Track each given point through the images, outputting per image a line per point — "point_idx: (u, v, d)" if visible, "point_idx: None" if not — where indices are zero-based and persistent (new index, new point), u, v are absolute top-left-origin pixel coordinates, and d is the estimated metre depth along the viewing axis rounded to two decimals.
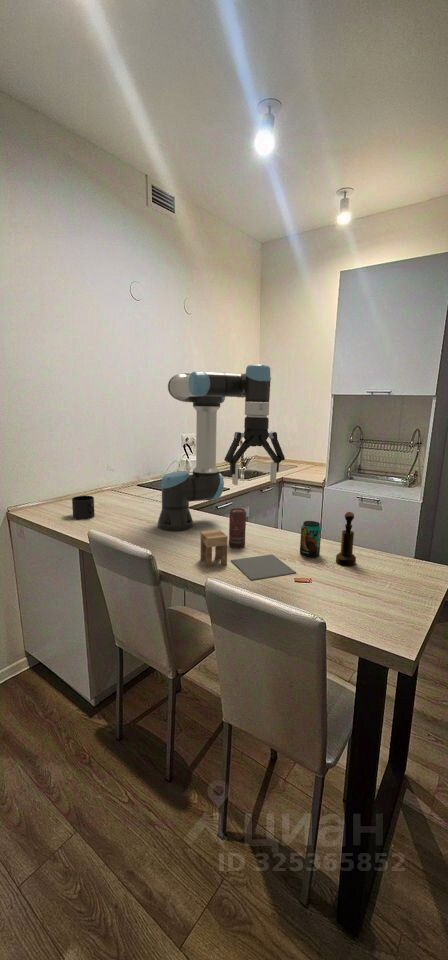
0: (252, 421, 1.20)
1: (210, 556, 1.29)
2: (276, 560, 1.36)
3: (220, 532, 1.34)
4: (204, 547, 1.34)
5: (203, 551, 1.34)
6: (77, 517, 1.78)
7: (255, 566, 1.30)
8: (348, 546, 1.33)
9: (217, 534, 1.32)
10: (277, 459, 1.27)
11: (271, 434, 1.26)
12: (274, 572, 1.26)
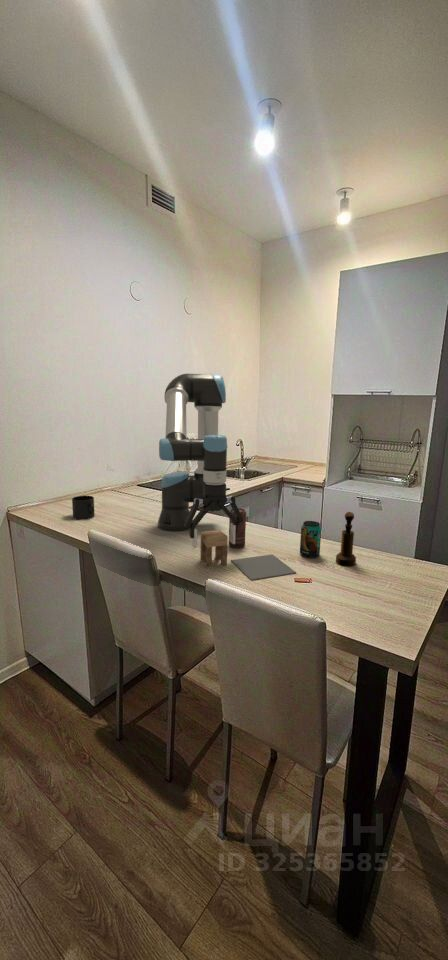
0: (209, 489, 1.26)
1: (210, 556, 1.29)
2: (276, 560, 1.36)
3: (220, 532, 1.34)
4: (204, 547, 1.34)
5: (203, 551, 1.34)
6: (77, 517, 1.78)
7: (255, 566, 1.30)
8: (348, 546, 1.33)
9: (217, 534, 1.32)
10: (236, 522, 1.33)
11: (229, 498, 1.31)
12: (274, 572, 1.26)
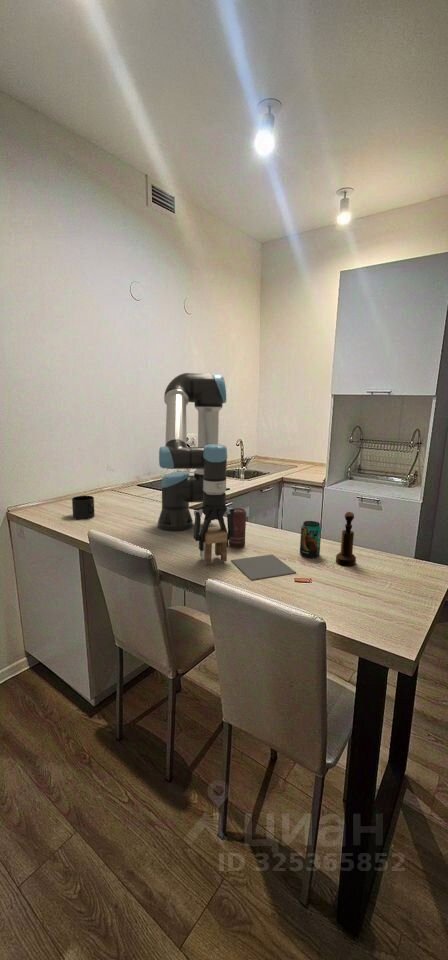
0: (209, 498, 1.26)
1: (210, 553, 1.30)
2: (276, 560, 1.36)
3: (220, 529, 1.34)
4: None
5: None
6: (77, 517, 1.78)
7: (255, 566, 1.30)
8: (348, 546, 1.33)
9: (217, 530, 1.32)
10: None
11: (229, 510, 1.32)
12: (274, 572, 1.26)
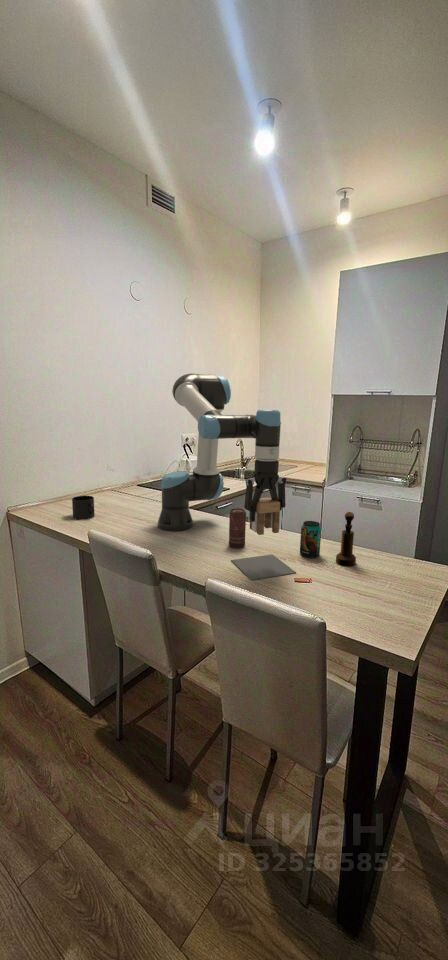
0: (262, 465, 1.21)
1: (262, 523, 1.23)
2: (276, 560, 1.36)
3: (271, 499, 1.28)
4: None
5: None
6: (77, 517, 1.78)
7: (255, 566, 1.30)
8: (348, 546, 1.33)
9: (269, 500, 1.26)
10: None
11: (281, 479, 1.27)
12: (274, 572, 1.26)
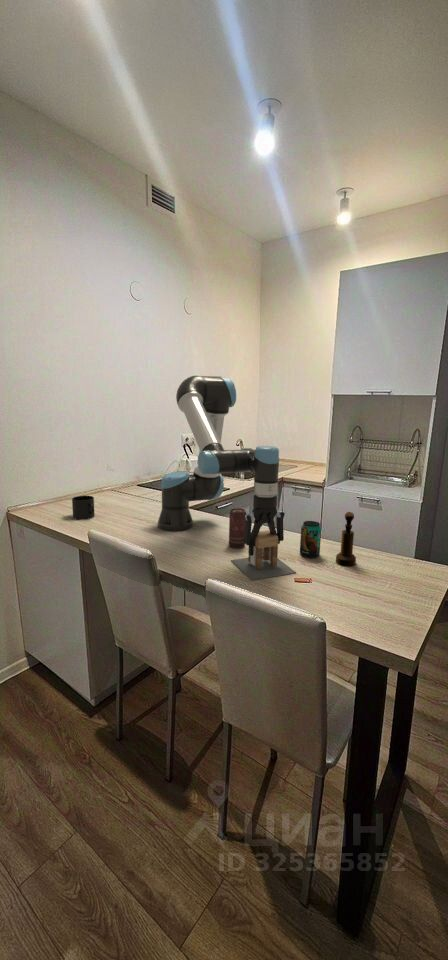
0: (261, 501, 1.23)
1: (261, 557, 1.26)
2: None
3: (269, 532, 1.31)
4: None
5: None
6: (77, 517, 1.78)
7: None
8: (348, 546, 1.33)
9: (267, 534, 1.29)
10: None
11: (279, 513, 1.29)
12: (274, 572, 1.26)
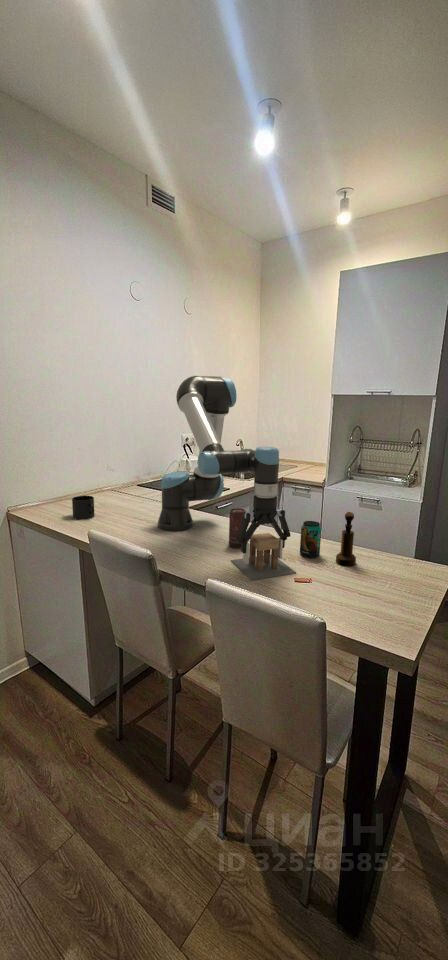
0: (261, 502, 1.23)
1: (261, 560, 1.26)
2: None
3: (270, 535, 1.31)
4: (253, 550, 1.31)
5: (252, 554, 1.31)
6: (77, 517, 1.78)
7: (255, 566, 1.30)
8: (348, 546, 1.33)
9: (268, 537, 1.29)
10: (283, 536, 1.30)
11: (279, 512, 1.29)
12: (274, 572, 1.26)
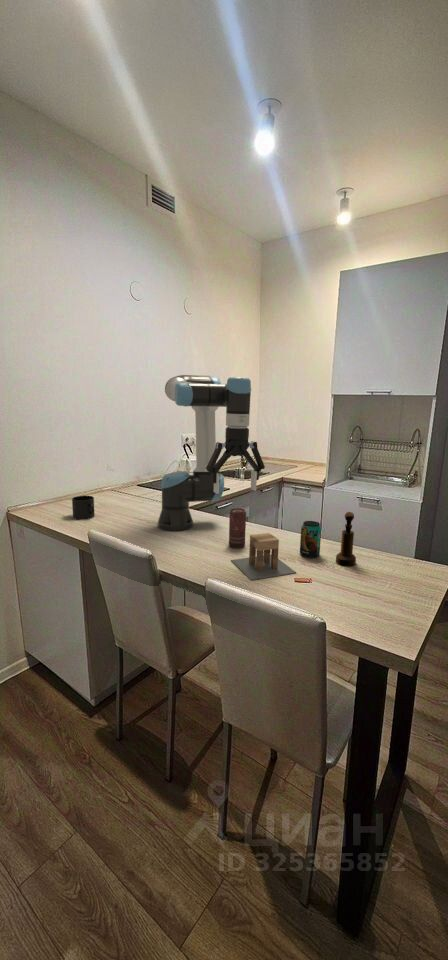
0: (233, 432, 1.23)
1: (261, 560, 1.26)
2: None
3: (270, 535, 1.31)
4: (253, 550, 1.31)
5: (252, 554, 1.31)
6: (77, 517, 1.78)
7: (255, 566, 1.30)
8: (348, 546, 1.33)
9: (268, 537, 1.29)
10: (257, 468, 1.31)
11: (251, 444, 1.29)
12: (274, 572, 1.26)
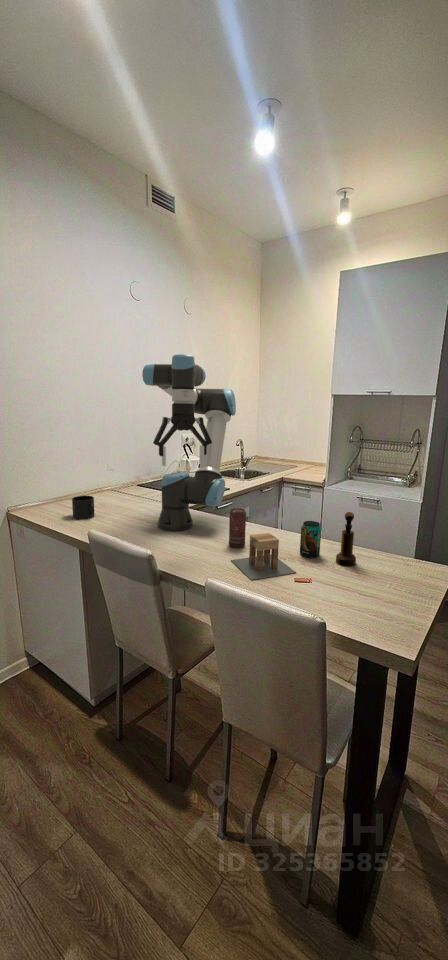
0: (177, 407, 1.30)
1: (261, 560, 1.26)
2: None
3: (270, 535, 1.31)
4: (253, 550, 1.31)
5: (252, 554, 1.31)
6: (77, 517, 1.78)
7: (255, 566, 1.30)
8: (348, 546, 1.33)
9: (268, 537, 1.29)
10: (204, 442, 1.37)
11: (198, 419, 1.36)
12: (274, 572, 1.26)
